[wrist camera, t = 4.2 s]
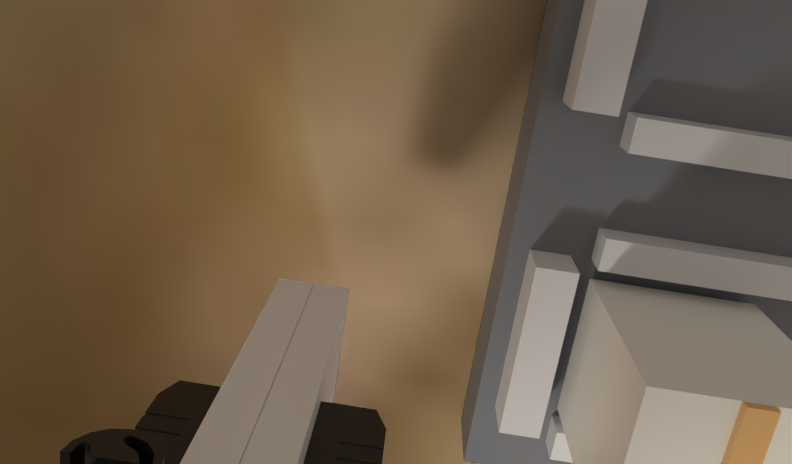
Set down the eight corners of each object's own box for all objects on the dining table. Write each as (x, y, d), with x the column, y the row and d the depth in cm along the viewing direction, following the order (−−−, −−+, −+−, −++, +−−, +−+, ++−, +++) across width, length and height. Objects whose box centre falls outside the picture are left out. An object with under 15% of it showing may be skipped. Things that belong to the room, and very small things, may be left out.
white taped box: (557, 407, 19) (601, 557, 14) (590, 278, 18) (650, 392, 13) (711, 432, 19) (809, 590, 14) (754, 304, 18) (878, 428, 13)
